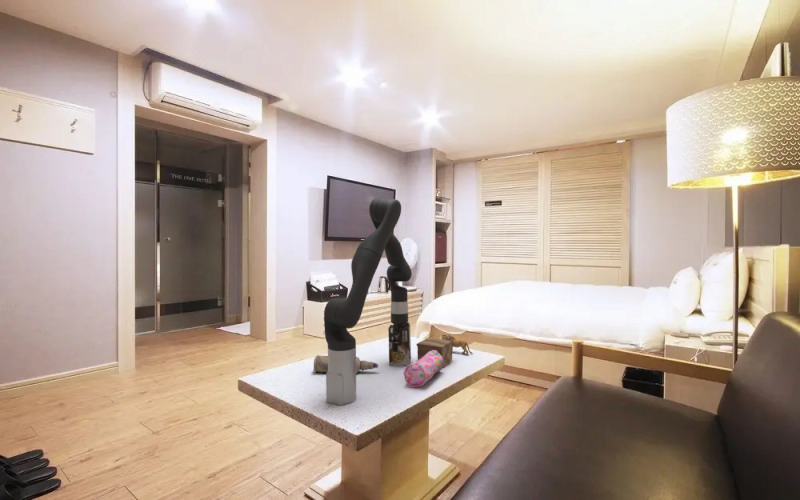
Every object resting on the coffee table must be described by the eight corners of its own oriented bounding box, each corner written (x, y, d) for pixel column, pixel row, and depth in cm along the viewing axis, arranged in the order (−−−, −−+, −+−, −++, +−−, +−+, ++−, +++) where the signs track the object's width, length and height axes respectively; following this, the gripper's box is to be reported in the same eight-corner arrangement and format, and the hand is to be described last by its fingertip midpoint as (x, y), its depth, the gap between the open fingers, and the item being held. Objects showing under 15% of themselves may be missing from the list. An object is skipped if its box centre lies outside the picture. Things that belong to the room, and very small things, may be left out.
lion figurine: (440, 353, 174) (440, 334, 174) (442, 350, 179) (442, 332, 179) (472, 356, 169) (471, 336, 169) (473, 353, 174) (473, 334, 174)
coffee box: (411, 361, 162) (410, 324, 162) (409, 366, 156) (409, 328, 156) (390, 361, 163) (390, 324, 163) (388, 365, 157) (388, 327, 157)
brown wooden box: (442, 369, 152) (441, 347, 152) (416, 364, 158) (416, 343, 158) (453, 360, 163) (453, 340, 163) (429, 357, 169) (428, 337, 169)
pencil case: (424, 369, 153) (424, 347, 153) (445, 372, 149) (445, 349, 149) (401, 387, 134) (401, 362, 134) (425, 391, 130) (425, 365, 130)
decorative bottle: (312, 375, 147) (311, 358, 147) (318, 369, 154) (318, 353, 154) (376, 376, 144) (376, 359, 144) (379, 370, 152) (379, 354, 152)
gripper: (399, 315, 151) (399, 354, 152) (414, 309, 164) (415, 346, 164) (383, 313, 155) (383, 352, 155) (399, 308, 167) (400, 344, 168)
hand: (399, 349), depth 160 cm, fingers closed on coffee box, 8 cm apart
